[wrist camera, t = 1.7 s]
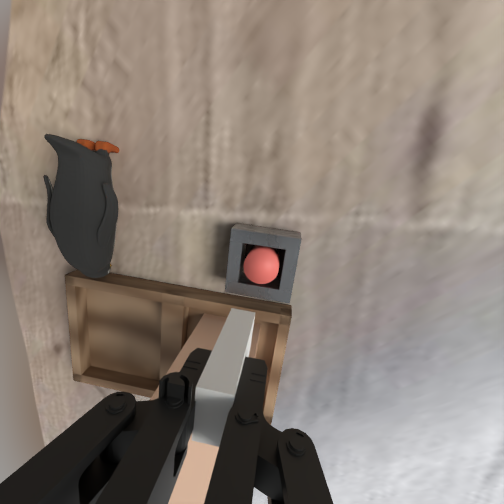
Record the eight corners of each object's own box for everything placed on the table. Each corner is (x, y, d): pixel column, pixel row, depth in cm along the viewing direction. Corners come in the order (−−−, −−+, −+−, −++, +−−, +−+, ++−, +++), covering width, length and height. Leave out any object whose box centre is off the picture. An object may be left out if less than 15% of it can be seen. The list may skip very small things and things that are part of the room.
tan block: (204, 313, 33) (136, 420, 18) (260, 323, 32) (236, 443, 18) (198, 380, 36) (136, 517, 21) (250, 390, 35) (222, 540, 21)
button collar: (237, 222, 30) (231, 228, 27) (300, 232, 29) (301, 239, 26) (231, 280, 32) (224, 291, 29) (289, 290, 31) (289, 303, 28)
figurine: (91, 148, 33) (83, 269, 34) (8, 115, 23) (3, 286, 24) (148, 155, 32) (138, 278, 34) (88, 123, 22) (77, 299, 24)
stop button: (250, 240, 30) (245, 247, 27) (282, 245, 29) (281, 253, 27) (246, 271, 31) (241, 280, 28) (277, 276, 30) (275, 286, 28)
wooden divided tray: (81, 267, 34) (64, 275, 32) (291, 305, 32) (291, 316, 29) (87, 367, 39) (73, 380, 36) (272, 407, 36) (271, 424, 34)
